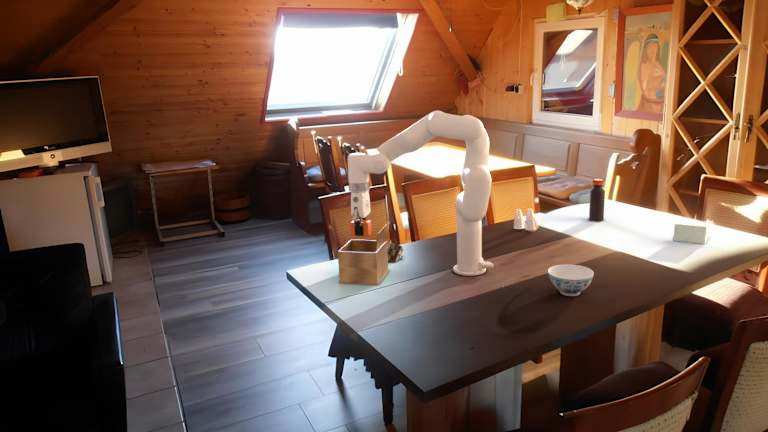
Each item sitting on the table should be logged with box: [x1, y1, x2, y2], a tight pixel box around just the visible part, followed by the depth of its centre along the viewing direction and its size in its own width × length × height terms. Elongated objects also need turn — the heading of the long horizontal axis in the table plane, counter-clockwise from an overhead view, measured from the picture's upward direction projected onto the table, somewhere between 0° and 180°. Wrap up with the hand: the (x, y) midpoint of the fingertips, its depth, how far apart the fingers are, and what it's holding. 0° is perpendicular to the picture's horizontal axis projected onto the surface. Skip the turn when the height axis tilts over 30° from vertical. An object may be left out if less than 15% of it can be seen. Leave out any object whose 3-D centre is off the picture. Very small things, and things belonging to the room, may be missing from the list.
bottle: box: [588, 178, 606, 222], centre depth 292 cm, size 7×7×20 cm
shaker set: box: [513, 208, 539, 233], centre depth 281 cm, size 12×4×11 cm, turn 40°
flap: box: [376, 221, 391, 251], centre depth 225 cm, size 7×15×1 cm
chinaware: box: [547, 263, 595, 297], centre depth 206 cm, size 15×15×8 cm
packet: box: [349, 219, 373, 237], centre depth 226 cm, size 7×4×5 cm, turn 75°
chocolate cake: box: [387, 239, 405, 263], centre depth 251 cm, size 10×7×12 cm
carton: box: [337, 239, 389, 286], centre depth 230 cm, size 15×16×12 cm
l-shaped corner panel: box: [673, 219, 710, 245], centre depth 258 cm, size 12×12×8 cm
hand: (361, 233), depth 226 cm, fingers closed on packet, 4 cm apart
